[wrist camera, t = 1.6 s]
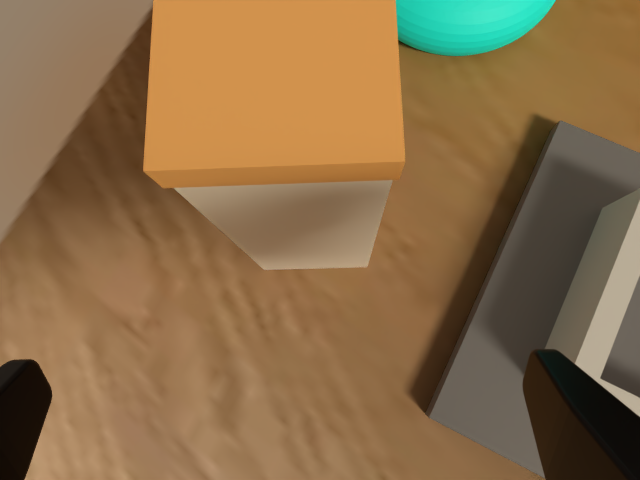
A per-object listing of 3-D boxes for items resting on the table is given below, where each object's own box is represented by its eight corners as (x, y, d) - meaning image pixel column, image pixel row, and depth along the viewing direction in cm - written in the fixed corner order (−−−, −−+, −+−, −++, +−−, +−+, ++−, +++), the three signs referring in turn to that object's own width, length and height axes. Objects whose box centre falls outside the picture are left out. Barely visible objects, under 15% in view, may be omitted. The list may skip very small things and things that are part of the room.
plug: (369, 269, 21) (405, 161, 9) (261, 272, 22) (143, 171, 9) (365, 166, 22) (391, -65, 10) (262, 170, 23) (156, -51, 10)
